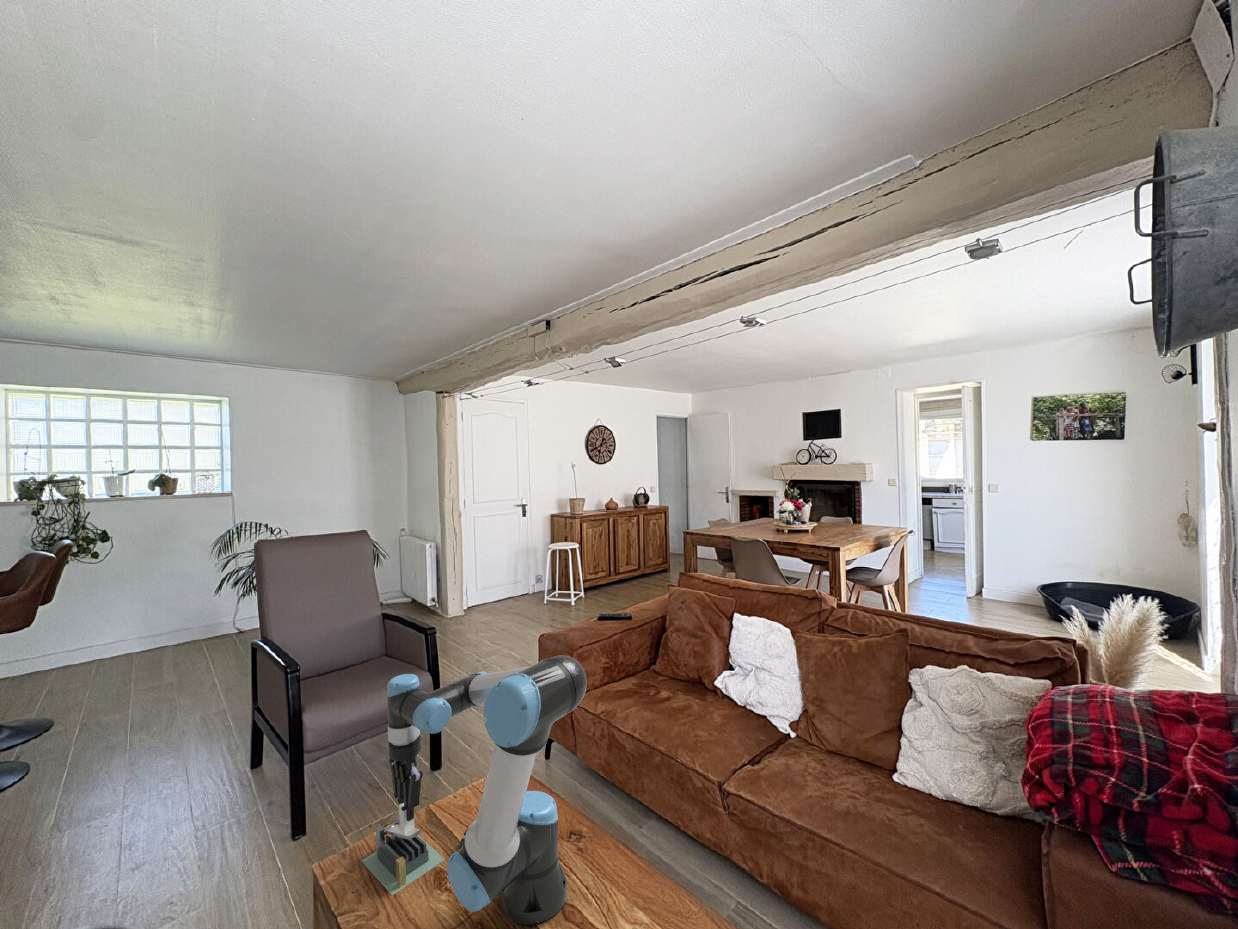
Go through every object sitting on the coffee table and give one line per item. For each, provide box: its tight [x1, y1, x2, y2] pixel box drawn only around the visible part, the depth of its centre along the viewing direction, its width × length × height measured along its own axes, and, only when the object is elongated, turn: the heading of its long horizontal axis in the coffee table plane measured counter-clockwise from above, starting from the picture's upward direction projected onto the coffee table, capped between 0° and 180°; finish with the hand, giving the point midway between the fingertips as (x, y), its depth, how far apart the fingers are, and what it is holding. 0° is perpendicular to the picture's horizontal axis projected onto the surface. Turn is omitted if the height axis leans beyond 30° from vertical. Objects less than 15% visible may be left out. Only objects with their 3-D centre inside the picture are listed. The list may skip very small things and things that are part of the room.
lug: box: [396, 857, 406, 888], centre depth 125 cm, size 2×2×6 cm
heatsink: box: [378, 834, 429, 878], centre depth 133 cm, size 11×8×5 cm
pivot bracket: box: [375, 814, 400, 855], centre depth 137 cm, size 2×7×7 cm, turn 139°
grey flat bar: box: [384, 821, 422, 840], centre depth 133 cm, size 15×4×1 cm, turn 49°
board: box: [361, 834, 446, 896], centre depth 133 cm, size 17×14×1 cm
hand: (407, 829), depth 131 cm, fingers closed
